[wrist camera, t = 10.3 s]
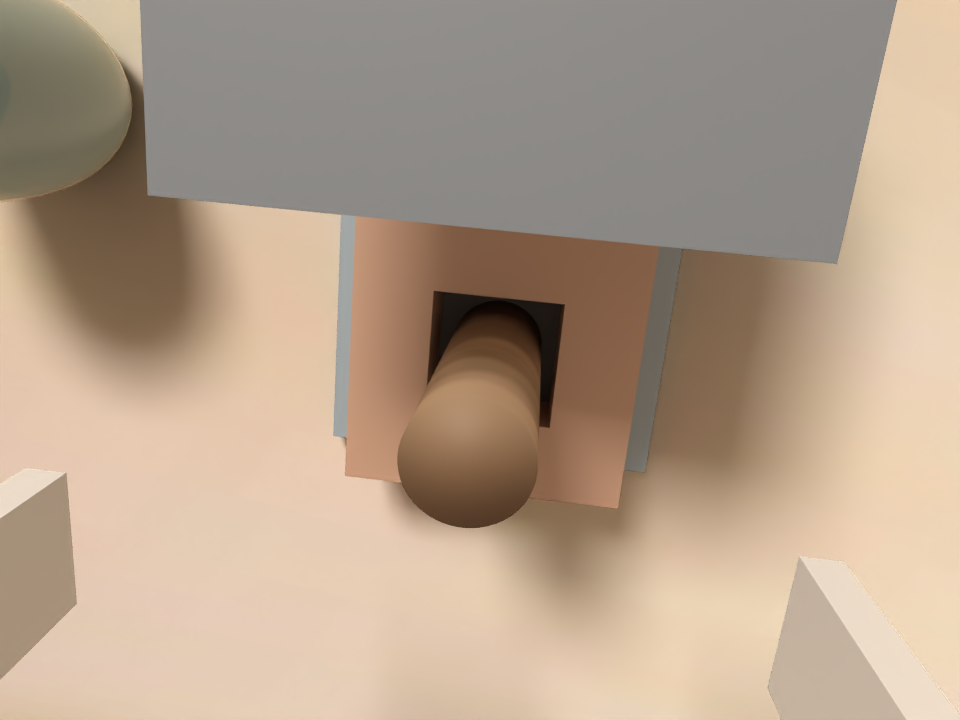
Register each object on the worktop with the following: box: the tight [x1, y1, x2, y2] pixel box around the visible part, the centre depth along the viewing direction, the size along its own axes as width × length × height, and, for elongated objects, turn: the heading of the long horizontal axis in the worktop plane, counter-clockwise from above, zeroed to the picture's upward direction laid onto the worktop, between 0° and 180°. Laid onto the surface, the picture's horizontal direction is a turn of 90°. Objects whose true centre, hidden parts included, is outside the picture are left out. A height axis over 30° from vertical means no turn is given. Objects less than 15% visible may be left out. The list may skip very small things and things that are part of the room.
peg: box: [397, 300, 542, 528], centre depth 24 cm, size 4×4×12 cm
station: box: [140, 0, 897, 509], centre depth 22 cm, size 14×25×16 cm, turn 175°
